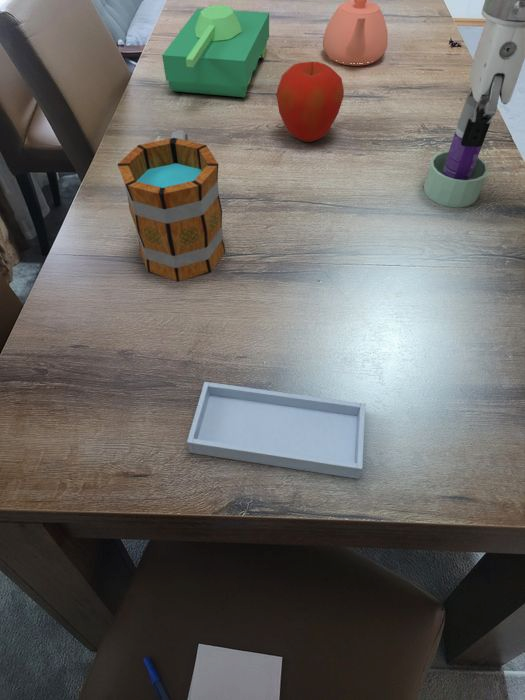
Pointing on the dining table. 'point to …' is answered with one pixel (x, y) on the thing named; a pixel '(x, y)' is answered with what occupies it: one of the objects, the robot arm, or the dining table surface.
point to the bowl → (453, 183)
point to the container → (462, 147)
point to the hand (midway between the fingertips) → (469, 135)
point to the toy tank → (217, 51)
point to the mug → (175, 206)
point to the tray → (279, 429)
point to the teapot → (356, 33)
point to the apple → (309, 99)
